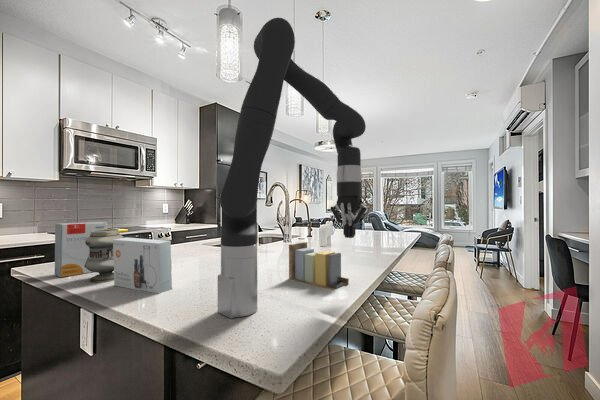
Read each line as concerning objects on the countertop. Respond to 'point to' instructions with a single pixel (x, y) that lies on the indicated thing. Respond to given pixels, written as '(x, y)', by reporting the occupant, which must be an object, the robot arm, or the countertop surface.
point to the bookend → (334, 271)
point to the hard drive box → (73, 247)
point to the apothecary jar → (102, 254)
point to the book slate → (301, 262)
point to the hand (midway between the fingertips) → (349, 237)
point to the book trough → (292, 265)
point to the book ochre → (322, 267)
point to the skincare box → (142, 264)
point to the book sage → (310, 267)
